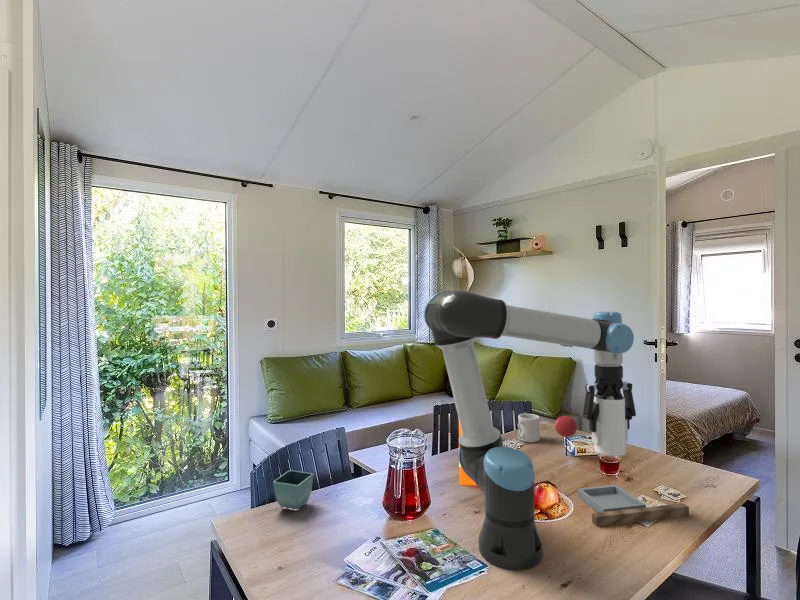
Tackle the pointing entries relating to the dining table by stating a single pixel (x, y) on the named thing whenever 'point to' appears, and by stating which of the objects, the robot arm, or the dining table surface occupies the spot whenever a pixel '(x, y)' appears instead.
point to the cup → (611, 426)
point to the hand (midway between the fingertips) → (609, 441)
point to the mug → (528, 428)
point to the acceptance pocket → (608, 498)
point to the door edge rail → (640, 514)
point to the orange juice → (462, 476)
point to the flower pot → (293, 489)
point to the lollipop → (565, 427)
